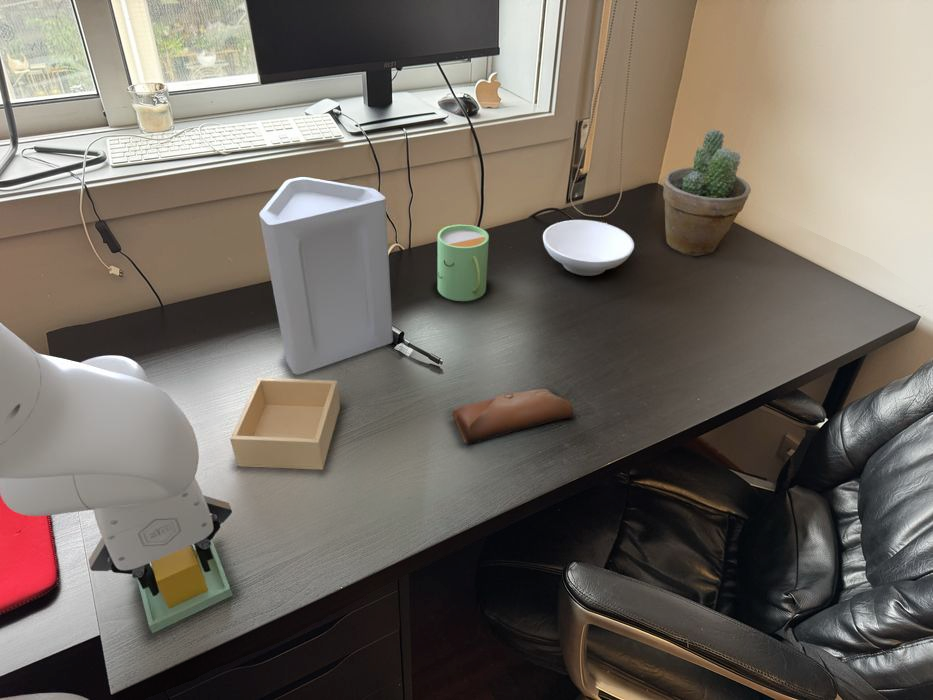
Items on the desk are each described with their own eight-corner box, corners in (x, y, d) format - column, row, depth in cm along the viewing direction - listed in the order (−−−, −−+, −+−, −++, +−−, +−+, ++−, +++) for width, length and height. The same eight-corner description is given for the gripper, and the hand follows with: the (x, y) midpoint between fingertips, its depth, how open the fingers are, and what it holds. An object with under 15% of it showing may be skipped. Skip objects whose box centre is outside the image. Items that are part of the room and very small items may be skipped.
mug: (428, 282, 134) (427, 230, 127) (472, 271, 138) (474, 220, 131) (454, 312, 125) (455, 258, 118) (500, 300, 129) (504, 247, 122)
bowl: (523, 256, 144) (525, 229, 140) (593, 240, 152) (597, 213, 147) (572, 298, 130) (576, 269, 126) (647, 278, 138) (653, 250, 134)
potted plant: (746, 260, 146) (782, 153, 131) (673, 267, 142) (701, 158, 127) (705, 224, 160) (733, 124, 145) (637, 230, 156) (658, 128, 141)
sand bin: (322, 470, 92) (318, 442, 88) (237, 466, 92) (229, 438, 89) (340, 407, 102) (336, 380, 99) (263, 404, 103) (257, 377, 99)
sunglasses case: (548, 385, 107) (561, 371, 101) (562, 424, 105) (577, 412, 99) (448, 410, 102) (456, 397, 96) (461, 452, 100) (470, 441, 94)
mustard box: (168, 609, 74) (156, 581, 70) (160, 579, 77) (148, 551, 73) (208, 590, 76) (198, 563, 72) (198, 562, 79) (188, 535, 75)
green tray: (152, 633, 72) (148, 626, 71) (138, 579, 77) (135, 572, 76) (232, 595, 76) (230, 588, 75) (214, 546, 81) (212, 539, 80)
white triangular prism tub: (359, 303, 127) (347, 167, 110) (394, 341, 117) (387, 198, 100) (265, 332, 118) (237, 189, 101) (295, 376, 108) (268, 225, 91)
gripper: (42, 531, 58) (105, 637, 69) (232, 460, 65) (261, 565, 76) (35, 477, 63) (95, 583, 73) (212, 416, 70) (242, 521, 81)
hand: (179, 573), depth 75 cm, fingers open, 5 cm apart
